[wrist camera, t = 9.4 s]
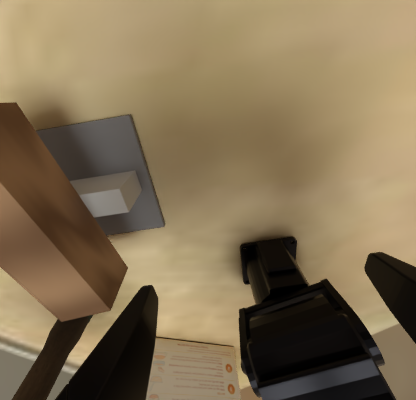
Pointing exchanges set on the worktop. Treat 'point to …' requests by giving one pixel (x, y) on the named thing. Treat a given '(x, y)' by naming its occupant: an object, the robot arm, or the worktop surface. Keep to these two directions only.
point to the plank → (50, 228)
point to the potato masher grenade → (51, 359)
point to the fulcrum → (107, 172)
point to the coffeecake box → (192, 372)
